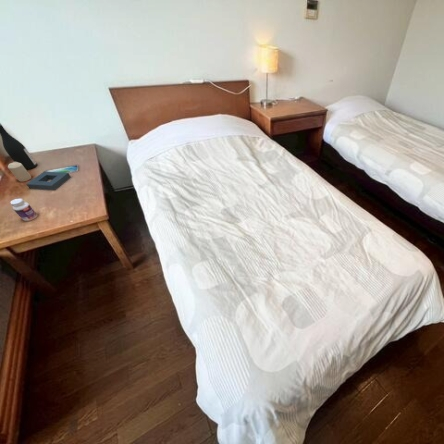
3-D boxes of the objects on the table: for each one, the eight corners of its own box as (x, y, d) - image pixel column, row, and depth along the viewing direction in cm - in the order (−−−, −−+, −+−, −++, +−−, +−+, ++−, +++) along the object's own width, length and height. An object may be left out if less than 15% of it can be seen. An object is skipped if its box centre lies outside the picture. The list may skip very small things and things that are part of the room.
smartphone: (45, 170, 143) (77, 165, 150) (46, 172, 144) (78, 166, 150) (45, 176, 139) (77, 170, 146) (45, 177, 139) (78, 171, 146)
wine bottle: (32, 162, 149) (-5, 111, 128) (41, 166, 147) (4, 114, 126) (16, 168, 143) (-25, 115, 123) (25, 172, 141) (-16, 119, 121)
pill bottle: (33, 220, 114) (19, 204, 108) (19, 221, 114) (4, 205, 107) (40, 213, 118) (27, 197, 112) (27, 213, 117) (13, 197, 111)
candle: (26, 175, 139) (13, 159, 132) (34, 177, 138) (22, 161, 131) (15, 180, 135) (2, 164, 128) (24, 182, 134) (11, 166, 127)
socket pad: (29, 188, 131) (25, 184, 129) (47, 175, 140) (44, 171, 138) (55, 190, 132) (51, 185, 130) (71, 177, 141) (68, 172, 139)
